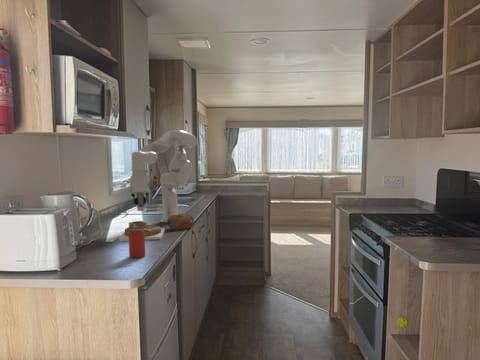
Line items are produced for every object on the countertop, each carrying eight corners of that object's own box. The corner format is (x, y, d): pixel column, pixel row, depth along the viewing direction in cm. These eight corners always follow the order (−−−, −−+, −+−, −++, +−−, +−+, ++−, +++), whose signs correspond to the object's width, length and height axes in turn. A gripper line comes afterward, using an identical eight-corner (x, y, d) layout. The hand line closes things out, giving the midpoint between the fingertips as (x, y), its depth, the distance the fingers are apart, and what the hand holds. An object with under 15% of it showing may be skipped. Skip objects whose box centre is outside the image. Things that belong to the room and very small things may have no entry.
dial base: (127, 232, 202) (127, 229, 201) (165, 230, 204) (165, 227, 204) (118, 241, 181) (118, 237, 181) (160, 239, 183) (160, 236, 183)
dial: (118, 232, 193) (118, 224, 192) (150, 227, 206) (150, 219, 205) (134, 238, 179) (134, 229, 178) (167, 232, 191) (167, 223, 191)
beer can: (147, 254, 156) (146, 227, 155) (143, 258, 150) (142, 230, 149) (131, 254, 156) (130, 227, 155) (127, 258, 150) (126, 230, 149)
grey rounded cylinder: (136, 210, 207) (136, 193, 207) (142, 209, 209) (142, 192, 209) (138, 211, 204) (138, 193, 204) (144, 210, 206) (144, 193, 206)
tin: (167, 230, 206) (167, 215, 205) (167, 228, 209) (166, 214, 208) (193, 228, 210) (193, 213, 209) (193, 227, 213) (192, 213, 212)
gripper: (150, 172, 214) (151, 202, 215) (122, 173, 205) (123, 204, 206) (155, 172, 207) (155, 204, 209) (126, 173, 199) (127, 206, 200)
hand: (139, 204), depth 207 cm, fingers closed on grey rounded cylinder, 3 cm apart
